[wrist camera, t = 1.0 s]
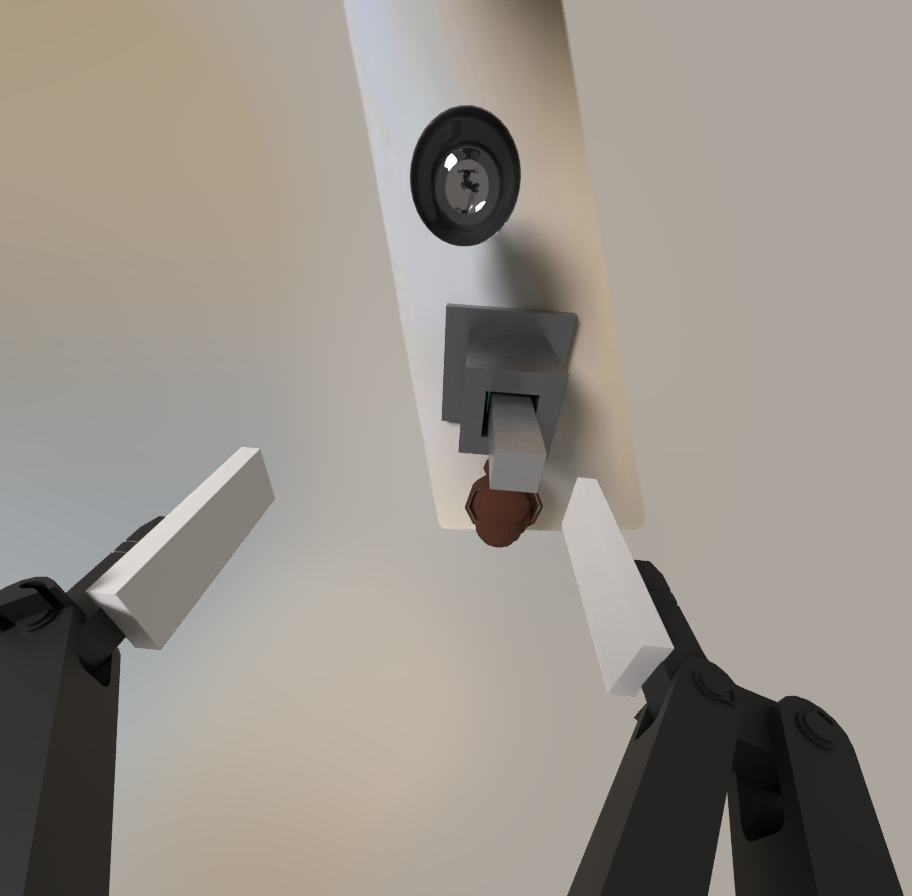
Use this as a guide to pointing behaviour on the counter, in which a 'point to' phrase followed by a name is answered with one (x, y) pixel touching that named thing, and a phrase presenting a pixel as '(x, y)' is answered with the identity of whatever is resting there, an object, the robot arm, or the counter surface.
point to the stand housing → (503, 366)
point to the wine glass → (465, 175)
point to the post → (514, 443)
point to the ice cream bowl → (501, 511)
